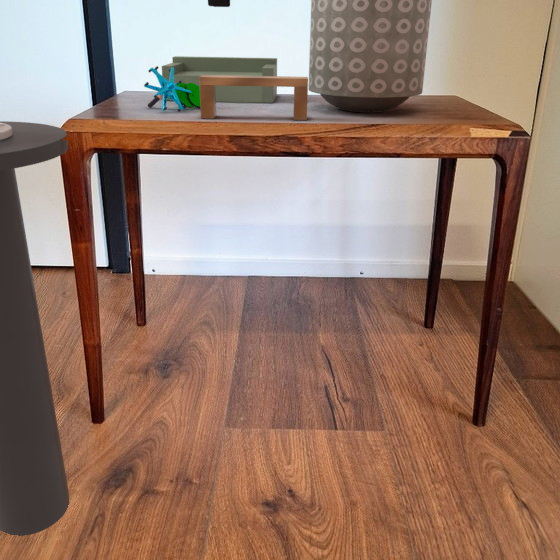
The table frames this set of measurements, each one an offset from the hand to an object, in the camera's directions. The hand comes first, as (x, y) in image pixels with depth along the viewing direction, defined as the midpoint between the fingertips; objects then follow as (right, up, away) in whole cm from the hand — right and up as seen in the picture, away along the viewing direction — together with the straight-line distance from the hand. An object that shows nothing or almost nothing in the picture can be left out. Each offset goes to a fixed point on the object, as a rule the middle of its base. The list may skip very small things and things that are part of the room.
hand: (219, 5), depth 105 cm
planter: (+25, -19, -3) cm, 32 cm away
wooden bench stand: (+7, -24, -14) cm, 28 cm away
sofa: (0, -14, +9) cm, 16 cm away
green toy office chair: (-7, -20, -6) cm, 22 cm away
